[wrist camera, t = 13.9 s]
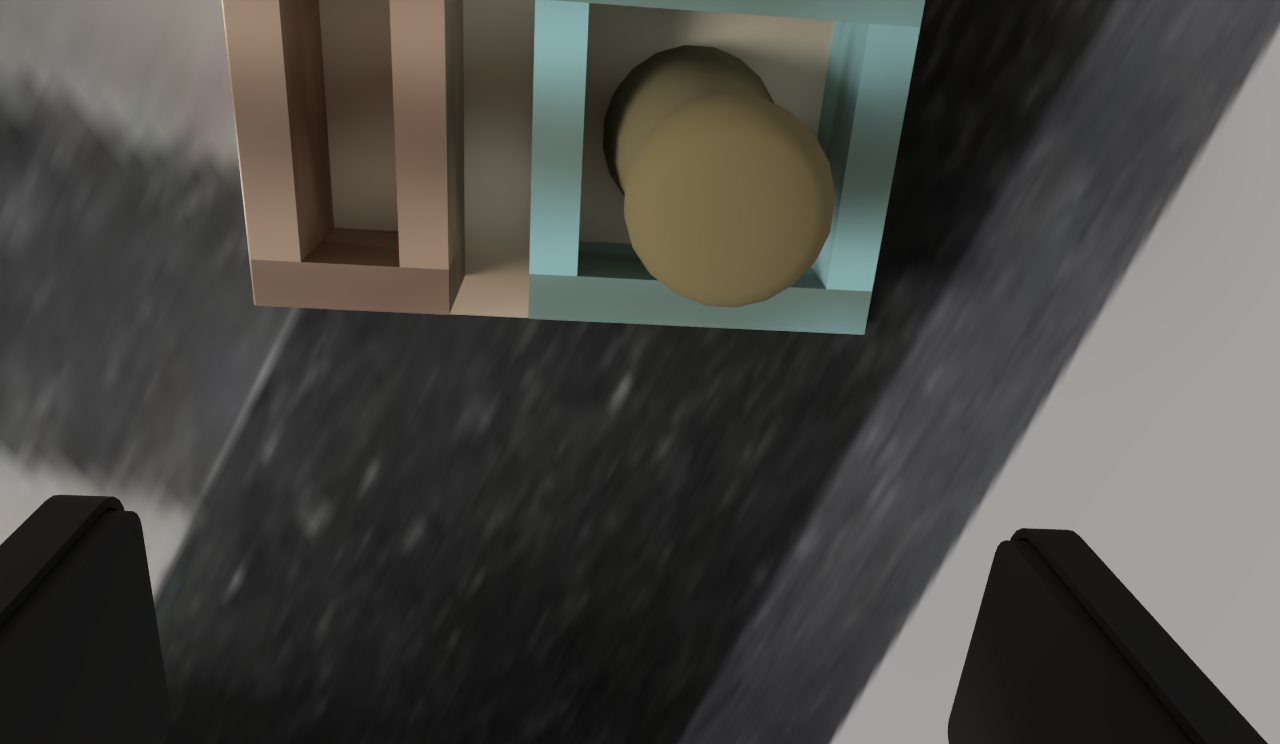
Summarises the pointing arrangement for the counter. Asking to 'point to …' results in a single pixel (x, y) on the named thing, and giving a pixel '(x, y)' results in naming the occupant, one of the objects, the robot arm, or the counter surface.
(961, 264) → the counter surface
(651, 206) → the cork
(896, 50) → the socket board
